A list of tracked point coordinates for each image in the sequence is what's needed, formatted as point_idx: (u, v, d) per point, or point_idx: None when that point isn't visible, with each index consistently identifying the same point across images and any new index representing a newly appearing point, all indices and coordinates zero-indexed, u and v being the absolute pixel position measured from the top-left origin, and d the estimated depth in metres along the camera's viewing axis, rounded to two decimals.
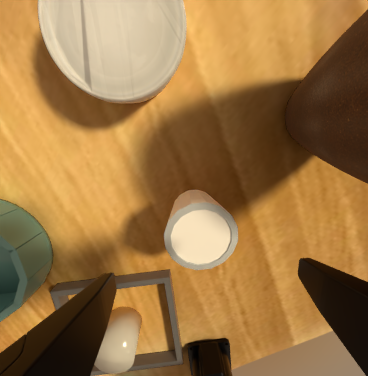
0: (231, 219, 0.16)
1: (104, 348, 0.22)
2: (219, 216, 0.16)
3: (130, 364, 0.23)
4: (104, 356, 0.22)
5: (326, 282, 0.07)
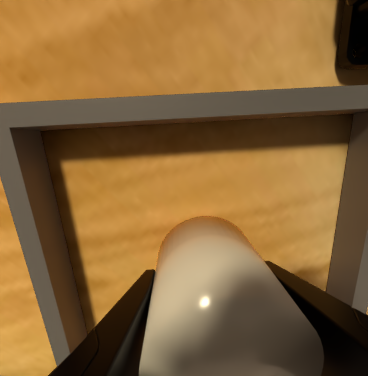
0: None
1: None
2: None
3: (282, 315, 0.04)
4: None
5: None
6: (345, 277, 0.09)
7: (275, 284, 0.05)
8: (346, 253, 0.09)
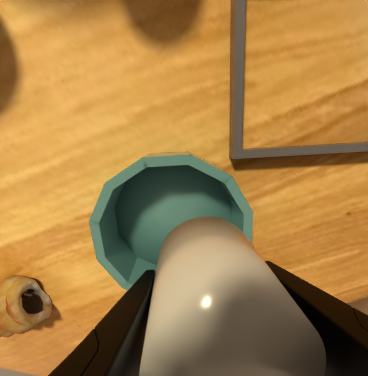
0: None
1: None
2: None
3: (284, 317, 0.04)
4: None
5: None
6: None
7: (277, 285, 0.05)
8: None
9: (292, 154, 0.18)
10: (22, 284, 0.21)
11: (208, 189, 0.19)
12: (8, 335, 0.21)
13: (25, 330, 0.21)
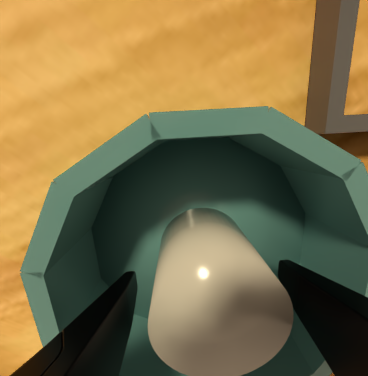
0: None
1: (169, 345, 0.06)
2: None
3: (259, 277, 0.06)
4: (204, 349, 0.06)
5: (301, 284, 0.07)
6: None
7: (256, 256, 0.07)
8: None
9: None
10: None
11: (266, 194, 0.10)
12: None
13: None
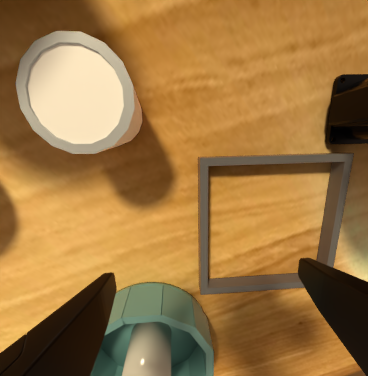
0: (41, 41, 0.10)
1: None
2: (37, 62, 0.10)
3: (157, 369, 0.18)
4: None
5: (326, 282, 0.07)
6: (328, 231, 0.21)
7: (160, 358, 0.18)
8: (328, 220, 0.21)
9: (249, 290, 0.21)
10: None
11: None
12: None
13: None
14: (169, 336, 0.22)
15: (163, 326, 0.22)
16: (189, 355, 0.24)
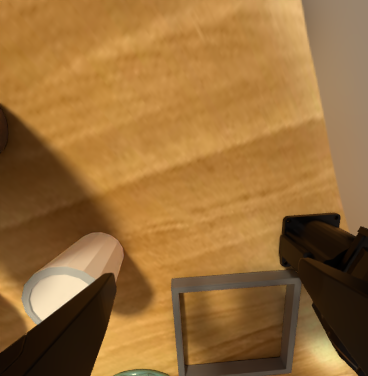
0: (38, 274, 0.14)
1: None
2: (36, 286, 0.14)
3: None
4: None
5: (326, 282, 0.07)
6: (287, 330, 0.24)
7: None
8: (287, 322, 0.24)
9: None
10: None
11: None
12: None
13: None
14: None
15: None
16: None
